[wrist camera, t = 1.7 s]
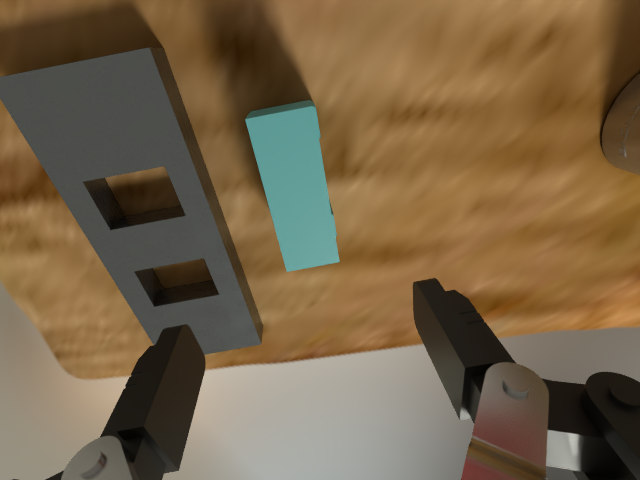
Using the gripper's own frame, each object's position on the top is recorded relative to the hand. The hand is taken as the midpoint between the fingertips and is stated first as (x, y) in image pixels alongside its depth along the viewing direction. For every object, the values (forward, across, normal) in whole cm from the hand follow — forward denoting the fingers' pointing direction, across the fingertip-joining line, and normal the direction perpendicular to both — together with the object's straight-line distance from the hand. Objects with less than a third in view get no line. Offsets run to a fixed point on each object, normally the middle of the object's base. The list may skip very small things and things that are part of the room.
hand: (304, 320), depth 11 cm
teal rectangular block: (+17, 0, 0) cm, 17 cm away
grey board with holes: (+17, +12, +3) cm, 21 cm away
